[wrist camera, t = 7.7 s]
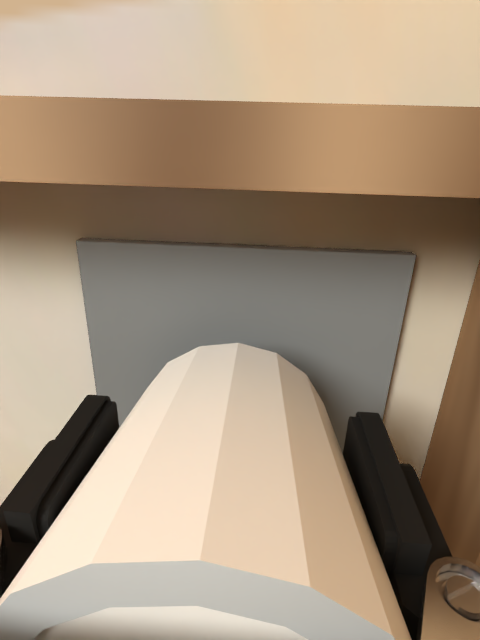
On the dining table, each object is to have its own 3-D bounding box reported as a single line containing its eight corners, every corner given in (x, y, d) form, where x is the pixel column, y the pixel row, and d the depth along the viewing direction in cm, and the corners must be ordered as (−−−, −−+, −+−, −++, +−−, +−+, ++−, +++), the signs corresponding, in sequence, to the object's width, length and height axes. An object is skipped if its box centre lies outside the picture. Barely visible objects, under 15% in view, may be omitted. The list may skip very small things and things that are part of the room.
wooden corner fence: (-2, 525, 18) (-72, 622, 14) (-133, 85, 11) (-327, 57, 8) (435, 559, 17) (481, 673, 13) (583, 101, 10) (758, 79, 7)
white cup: (127, 497, 14) (5, 799, 7) (114, 311, 11) (-95, 539, 5) (329, 517, 14) (382, 848, 7) (367, 332, 11) (506, 602, 4)
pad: (113, 483, 17) (109, 490, 16) (81, 238, 13) (75, 240, 12) (362, 500, 16) (364, 509, 16) (411, 252, 12) (416, 255, 12)
